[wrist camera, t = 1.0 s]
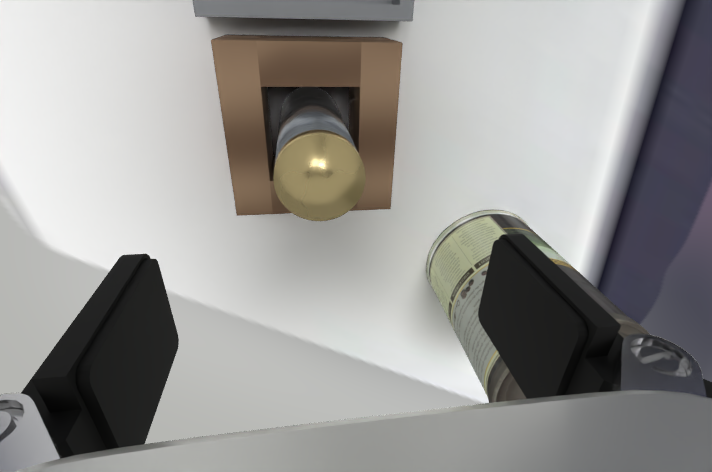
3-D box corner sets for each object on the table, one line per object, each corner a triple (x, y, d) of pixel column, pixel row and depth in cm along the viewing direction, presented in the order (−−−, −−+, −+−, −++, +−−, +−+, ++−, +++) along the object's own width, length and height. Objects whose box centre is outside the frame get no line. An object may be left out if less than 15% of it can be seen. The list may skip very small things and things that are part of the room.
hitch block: (225, 34, 24) (210, 39, 20) (384, 37, 25) (402, 42, 21) (245, 185, 29) (236, 215, 25) (376, 180, 30) (390, 208, 26)
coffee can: (541, 200, 33) (682, 308, 21) (524, 294, 39) (629, 422, 27) (425, 216, 33) (503, 337, 21) (423, 309, 38) (485, 449, 26)
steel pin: (278, 86, 26) (269, 135, 16) (338, 85, 26) (367, 133, 16) (283, 144, 28) (277, 223, 18) (338, 143, 28) (364, 219, 18)
